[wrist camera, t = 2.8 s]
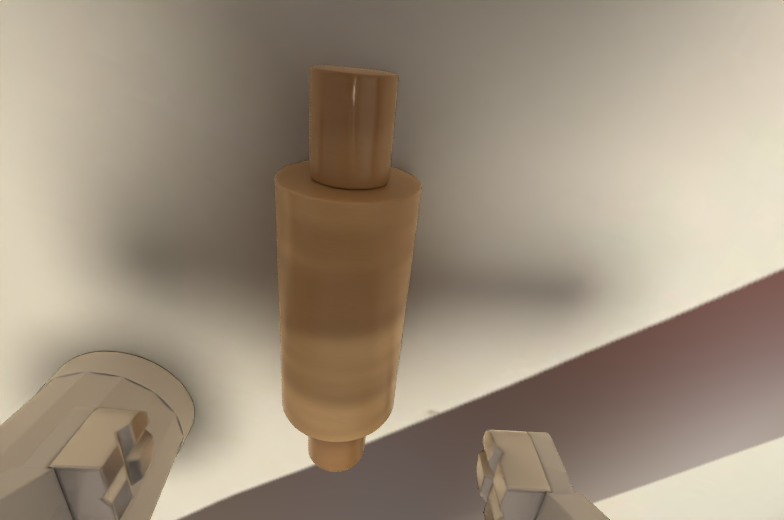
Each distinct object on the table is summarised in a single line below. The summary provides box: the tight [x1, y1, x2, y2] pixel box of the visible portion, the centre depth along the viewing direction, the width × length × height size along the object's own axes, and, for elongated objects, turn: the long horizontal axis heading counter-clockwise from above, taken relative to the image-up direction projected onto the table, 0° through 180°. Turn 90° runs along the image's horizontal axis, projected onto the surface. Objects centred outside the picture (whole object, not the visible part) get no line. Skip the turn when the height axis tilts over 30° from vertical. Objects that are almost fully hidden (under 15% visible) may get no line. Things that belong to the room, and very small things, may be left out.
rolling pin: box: [275, 65, 422, 472], centre depth 15 cm, size 15×4×4 cm, turn 175°
